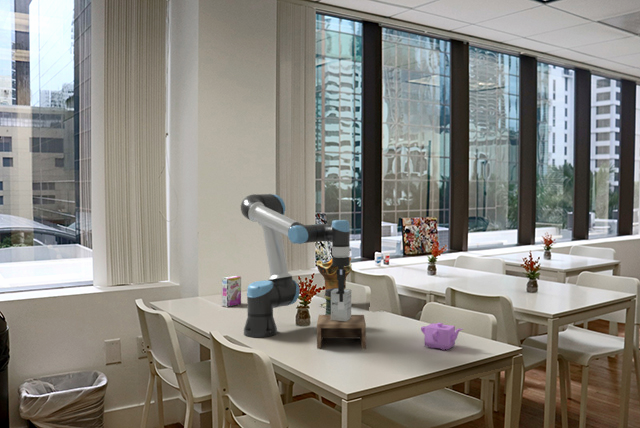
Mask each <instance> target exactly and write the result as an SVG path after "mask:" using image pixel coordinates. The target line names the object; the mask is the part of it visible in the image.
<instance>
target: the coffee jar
mask: <svg viewBox="0 0 640 428" xmlns="http://www.w3.org/2000/svg"><path fill="white" fill-rule="evenodd" d="M334 289H338V288H332V289H326V290H325V292H324V293H325V294H324V298H325V303H326V308H325V314H324V315H331V291H332V290H334Z"/></svg>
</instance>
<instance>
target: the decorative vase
mask: <svg viewBox="0 0 640 428" xmlns="http://www.w3.org/2000/svg"><path fill="white" fill-rule="evenodd" d="M349 257H350V256H349ZM351 261H352V257H350V265H349V266H344V270H346V275H345V280H344V285H347V284H346V281H347V278H348V275H350V273H351V272H352V270H353V268H352V262H351ZM316 266H317V271H318V273H319V274H320V275H321V276H322V277H323V280H324V289H325V291H326V289H332V288H338V280H337V274H336V270H338V266H333V265H332V258H331V259H330V261H327V262H323V261H322V260H317V261H316ZM344 289H347V287H346V288H344ZM325 305H326V302H323V303H321V304H320V305H319V306H320V307H322V308H325V309H326V306H325Z"/></svg>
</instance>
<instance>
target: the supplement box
mask: <svg viewBox="0 0 640 428" xmlns="http://www.w3.org/2000/svg"><path fill="white" fill-rule="evenodd" d="M336 292H338V289H334V290H332V291H331V320H335V321H345V322H347V321H348V320H349V319H351V315H352V289H349V288H346V289H344V310H338V294H336Z"/></svg>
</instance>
